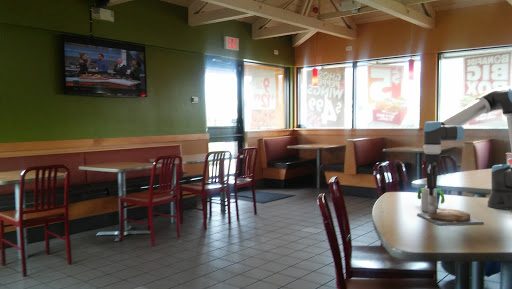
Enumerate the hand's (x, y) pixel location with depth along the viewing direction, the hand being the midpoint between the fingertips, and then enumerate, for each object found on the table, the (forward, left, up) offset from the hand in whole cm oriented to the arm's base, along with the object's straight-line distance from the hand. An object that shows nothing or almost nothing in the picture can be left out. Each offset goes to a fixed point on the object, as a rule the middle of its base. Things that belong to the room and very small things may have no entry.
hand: (431, 201), depth 204 cm
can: (-6, -14, -8) cm, 17 cm away
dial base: (-6, +5, -8) cm, 11 cm away
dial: (-5, +5, -6) cm, 10 cm away
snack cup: (-12, -24, -8) cm, 28 cm away
